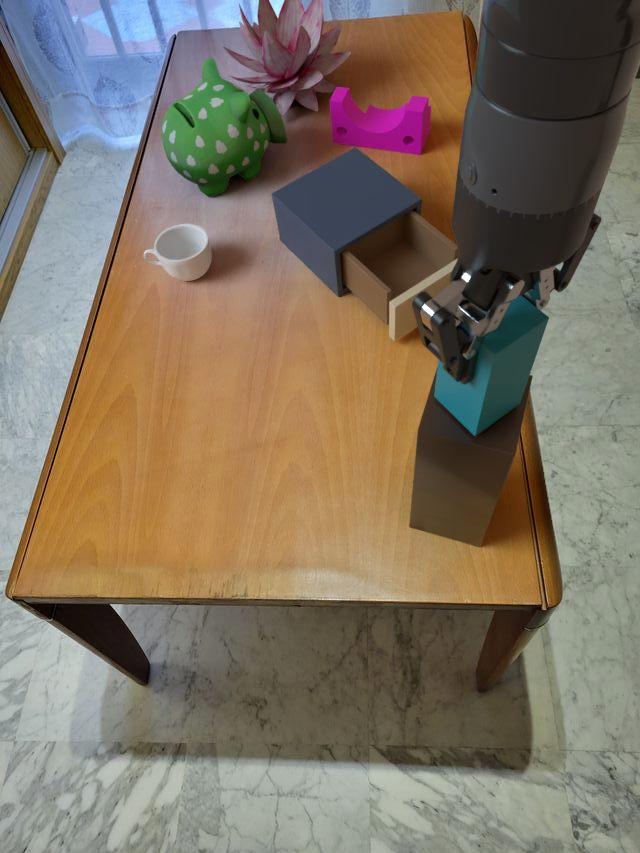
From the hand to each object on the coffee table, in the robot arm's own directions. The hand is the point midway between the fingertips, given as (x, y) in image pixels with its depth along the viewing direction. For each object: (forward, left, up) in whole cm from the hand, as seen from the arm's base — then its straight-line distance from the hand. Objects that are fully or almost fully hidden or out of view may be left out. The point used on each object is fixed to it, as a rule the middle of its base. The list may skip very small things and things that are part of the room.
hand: (487, 354), depth 47 cm
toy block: (+27, -62, -29) cm, 73 cm away
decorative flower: (+46, -70, -29) cm, 88 cm away
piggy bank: (+49, -48, -29) cm, 74 cm away
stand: (0, 0, -29) cm, 29 cm away
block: (0, 0, -6) cm, 6 cm away
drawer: (+12, -28, -28) cm, 41 cm away
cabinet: (+24, -37, -29) cm, 52 cm away
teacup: (+47, -26, -29) cm, 60 cm away
